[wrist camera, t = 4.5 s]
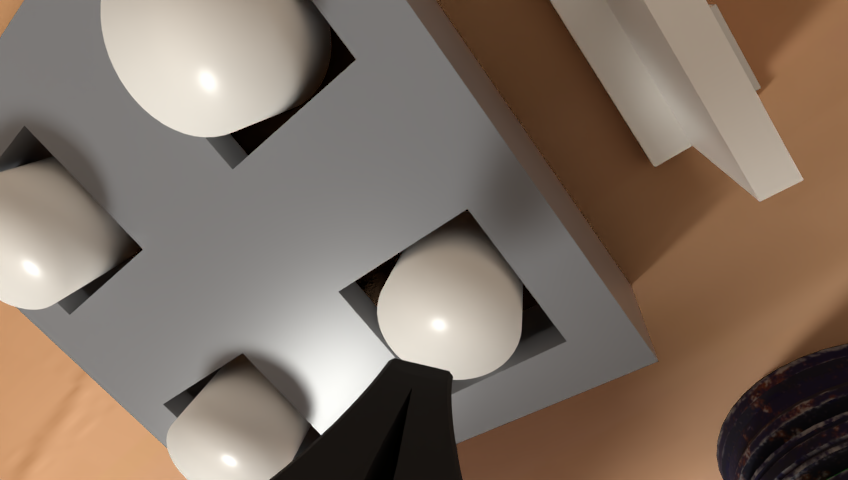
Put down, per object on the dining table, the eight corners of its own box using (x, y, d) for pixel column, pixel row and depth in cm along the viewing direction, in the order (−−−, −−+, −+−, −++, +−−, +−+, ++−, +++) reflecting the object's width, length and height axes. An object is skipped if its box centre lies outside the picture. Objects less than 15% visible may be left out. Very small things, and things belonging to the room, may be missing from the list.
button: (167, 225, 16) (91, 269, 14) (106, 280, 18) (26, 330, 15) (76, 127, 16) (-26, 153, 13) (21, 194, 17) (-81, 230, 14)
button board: (631, 285, 17) (658, 360, 13) (294, 449, 23) (251, 527, 20) (298, -201, 13) (208, -284, 9) (12, 162, 20) (-103, 195, 16)
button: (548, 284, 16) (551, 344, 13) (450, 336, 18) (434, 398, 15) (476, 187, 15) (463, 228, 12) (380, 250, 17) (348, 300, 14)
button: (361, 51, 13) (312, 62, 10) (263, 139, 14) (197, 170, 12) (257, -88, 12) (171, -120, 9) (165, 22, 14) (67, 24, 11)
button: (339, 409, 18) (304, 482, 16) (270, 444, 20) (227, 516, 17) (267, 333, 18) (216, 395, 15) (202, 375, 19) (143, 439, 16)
